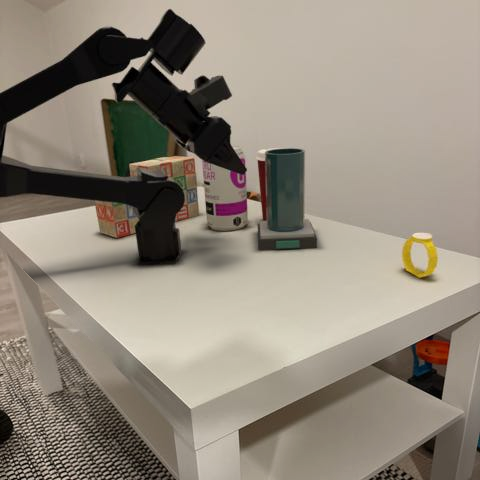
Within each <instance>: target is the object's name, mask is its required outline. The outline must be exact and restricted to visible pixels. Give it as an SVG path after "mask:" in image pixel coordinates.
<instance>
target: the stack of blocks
mask: <svg viewBox="0 0 480 480" xmlns="http://www.w3.org/2000/svg"><path fill="white" fill-rule="evenodd" d="M128 166H129V174H130V176H136V175H137V167H140V168H144V169H147V170H151V171H156V170H159V169H161V170H162V171H163V172H164V173H165V174H166V175H168V176H169V177H171V178H172V179H173V180H174V181H175V182H176V183H177V184H179V185H180V187H181V188H182V189H183V192H184V195H185V202H184V205H183V207H182V209H181V210H180V211H179V212H178V213H177V214H176V218H175V222H178V221H183V220H186V219H187V220H188V219H189V218H194V217H197V216H200V207H199V206H200V205H199V195H198V180H197V178H198V177H197V173H196V161H195V157H191V156H181V155H174V156H168V157H167V156H162V157H157V158H153V159H149V160H145V161H139V162H138V161H137V162H133V163H129V165H128ZM94 205H95V212H96V217H97V222H98V229H99V232H100V234H104V235H105V236H110V237H113V238H115V239H117V238H118V239H119V238H122V237H124V236H128V235H132V234H136V232H135V225H136V223H137V222H138V221H139V219H138V218H137V216H136V214H135V212H134V210H133V207H132V206H129V205H127V204H122V203H113V202H104V201H95V200H94Z"/></svg>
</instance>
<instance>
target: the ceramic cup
mask: <svg viewBox="0 0 480 480" xmlns="http://www.w3.org/2000/svg"><path fill="white" fill-rule="evenodd" d="M283 148H284V149H273V150H268V151H266V152H265V175H266V212H267V228H268V229H269V230H271V231H276V232H293V231H298V230H301V229H302V228H304V222H305V219H306V218H305V217H306V216H305V214H306V213H305V211H306V210H305V207H306V203H305V202H306V201H305V197H306V196H305V193H306V150H305V149H303V148H295V147H294V148H293V147H292V148H291V147H290V148H288V147H283Z"/></svg>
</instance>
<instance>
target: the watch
mask: <svg viewBox="0 0 480 480" xmlns="http://www.w3.org/2000/svg"><path fill="white" fill-rule="evenodd" d="M414 243H417V244H422V245H423V246H424V247H425V249H426V253H427V257H428V262H427V268H426V269H425V270H424V272H423V271H421V270H420V269H418V268H416V267H415V266H414V263H413V261H412V254H411V251H412V246H413V244H414ZM401 257H402V262H403V263H402V264H403V266H404V268H405V270H406V272H409V273H410V274H412V275H414V276H416V277H417V278H419V279H421V278H425V277H428V276H430V275H433V273H434V272H435V270H436V269H437V265H438V260H439V259H438V258H439V257H438V252H437V248H436V245H435V244H434V242H433V234H431V233H428V232H415V233H412V235H411V236H410V237H408V238H407V239H406V240H405V242H404V243H403V246H402V250H401Z"/></svg>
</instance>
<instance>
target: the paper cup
mask: <svg viewBox="0 0 480 480" xmlns="http://www.w3.org/2000/svg"><path fill="white" fill-rule="evenodd" d="M284 148H285V147H271V148H263V149H260V150H258V151H257V154H256V155H257V156H256V157H255V160H257V171H258V181H259V192H260V203H261V205H260V206H261V214H262V221H267V212H266V175H265V152H266V151H268V150H273V149H284Z"/></svg>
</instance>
